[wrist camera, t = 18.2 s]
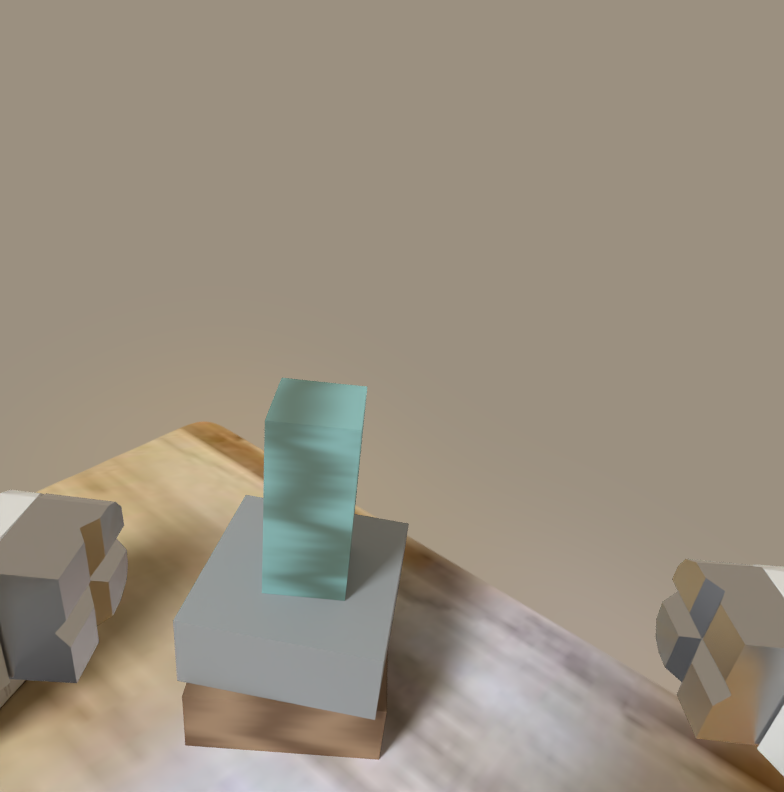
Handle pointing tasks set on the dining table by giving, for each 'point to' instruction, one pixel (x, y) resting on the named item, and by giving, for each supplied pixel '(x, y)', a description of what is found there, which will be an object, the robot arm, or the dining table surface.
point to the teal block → (310, 487)
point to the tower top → (292, 622)
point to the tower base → (279, 724)
